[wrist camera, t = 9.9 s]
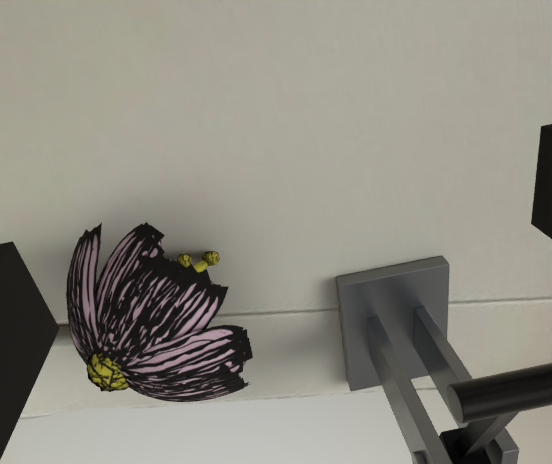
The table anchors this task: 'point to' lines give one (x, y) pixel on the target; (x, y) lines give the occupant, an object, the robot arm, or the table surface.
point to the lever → (492, 409)
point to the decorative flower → (152, 321)
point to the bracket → (406, 348)
